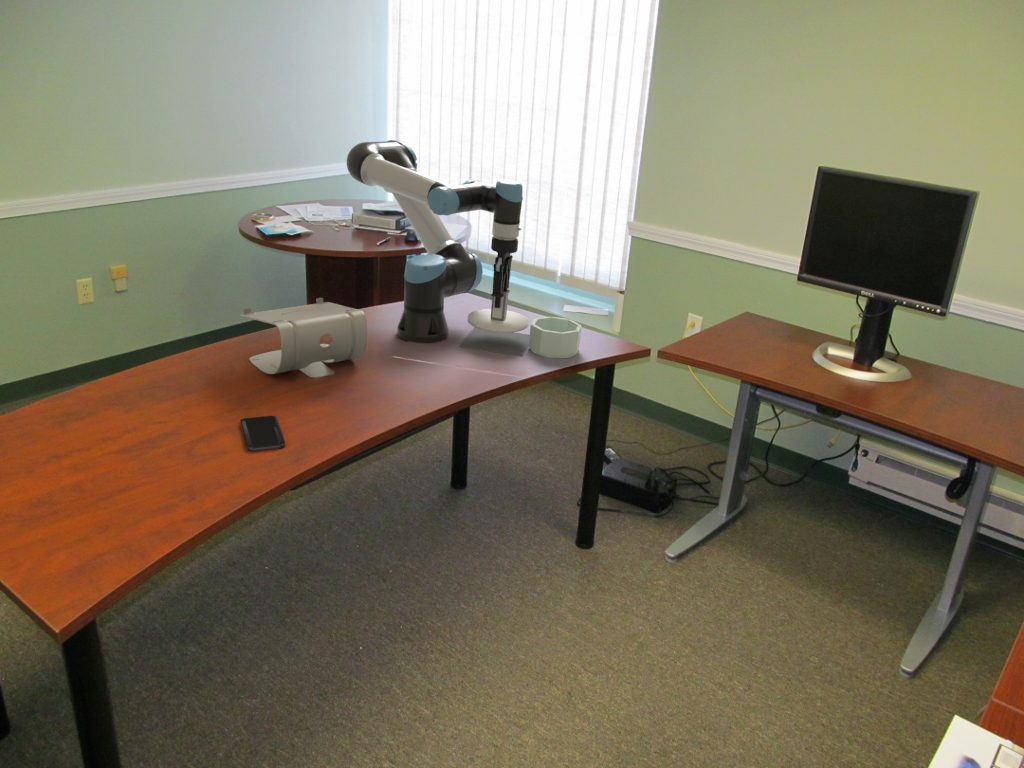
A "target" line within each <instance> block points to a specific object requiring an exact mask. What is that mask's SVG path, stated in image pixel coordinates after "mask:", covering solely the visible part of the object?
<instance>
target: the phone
mask: <svg viewBox="0 0 1024 768" xmlns="http://www.w3.org/2000/svg"><path fill="white" fill-rule="evenodd" d="M240 427H241V431H242V436H243V438H244V439H243V440H244V443H245V448H246V451H247V452H252V453H253V452H262V451H263V452H264V451H271V450H273V451H274V450H279V449H280V450H281V449H284V448H285V447H286V441H285V439H284V435H283V431H282V428H281V426H280V424H279V420H278V417H277V416H275V415H266V416H265V415H263V416H254V417H244V418H241V419H240Z"/></svg>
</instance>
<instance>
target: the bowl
mask: <svg viewBox="0 0 1024 768" xmlns="http://www.w3.org/2000/svg"><path fill="white" fill-rule="evenodd" d="M581 333H582V325H581V324H580V323H578V322H576V321H574V320H572V319H570V318H565V317H558V316H544V317H543V316H542V317H536V318H535V317H534V318H533V320H532V322H531V323H530V327H529V335H530V338H529V346H528V348H529V349H530V351H531V352H532V353H534V354H536V355H538V356H541V357H545V358H551V359H568V358H572V357H574V356H577V355H578V351H579V348H580V342H581V335H582V334H581Z"/></svg>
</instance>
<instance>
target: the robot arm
mask: <svg viewBox="0 0 1024 768" xmlns="http://www.w3.org/2000/svg"><path fill="white" fill-rule="evenodd" d="M417 159H418V158H417V155H416V152H415V151H414V150H413V148H412V147H411V146H410V145H409V144H408V143H406V142H405V141H400V140H395V139H394V140H393V139H391V140H386V141H366V142H365V141H363V142H359V143H358V144H356V145H354V146H353V147H352V148H351V149H350V151H349V152H348V154H347V157H346V167H347V171H348V174H350V176H351V177H352V178H353V179H354V180H355V181H356V182H359V183H361V184H364V185H365V186H369V187H374V186H378V187H381V188H383V190H384V191H385V192H387V193H390V194H392V195H393V197H394V199H395V200H396V202H397V204H398V205H399V207H400V209H401V210H402V212H403V214H404V216H405V218H406V219H407V221H408V222H409V224H410V225H411V228H412V229H413V231H414V232H415V235H417V237H418V238H419V240H420V241H419V242H421V244H422V245H423V247H424V249H425V251H426V252H427V254H423V253H422V254H418V255H415V256H412V257H410V258H409V259H408V260H407V261H406V263H405V267H404V273H403V277H404V278H403V279H404V280H403V281H404V282H403V283H404V285H403V288H404V289H403V293H404V295H403V296H404V297H403V311H402V313H401V316H400V319H399V322H398V324H397V331H396V333H397V334H396V335H397V337H398V338H400V339H401V340H403V341H405V342H410V343H417V344H434V343H439V342H442V341H445V340H447V339H448V337H449V327H448V323H447V319H446V316H445V312H444V311H445V310H444V309H445V308H444V307H445V306H444V305H445V298H446V299H447V298H450V297H454V296H458V295H461V294H462V295H463V294H466V293H469V292H471V291H473V290H476V289H477V288H478V287H479V286H480V284H481V281H482V279H483V275H482V274H483V272H484V271H483V270H484V269H483V265H482V262H481V260H480V258H479V257H478V256H477V254H475V253H472V252H470V251H466V249H465V248H464V247H463V245H462V243H461V242H458V241H454V239H453V237H452V236H451V235H450V234H451V233H449V231H448V229H447V228H446V226H445V224H444V223H443V222H442V220H441V218H440V216H450V215H455V214H461V213H467V212H468V213H469V212H475V211H483V212H488V213H492V214H493V217H492V218H493V220H492V231H491V234H492V237H491V243H490V245H491V247H490V249H491V250H492V251H493V252H496V253H497V255H496V257H495V260H494V264H493V265H492V266H493V275H492V277H493V279H492V280H493V281H492V293H491V294H490V295H491V297H492V296H494V302H493V314H492V317H494V318H500V319H501V318H502V310H503V299H504V297H503V292H508V294H509V293H510V289H509V288H510V278H511V270H512V269H511V268H512V260H513V257H514V256H513V255H512V254H514V253H517V252H518V250H519V249H518V247H519V239H518V237H519V235H520V231H522V227H521V226H520V223H521V213H522V204H523V199H524V198H523V193H524V192H523V184H522V183H521V182H520V181H517V180H511V179H499V180H497V182H496V184H491V183H486V182H482V181H480V180H473V179H468V180H466V181H464V182H463V183H462V184H453V185H452V184H450V183H447V182H443V181H441V180H439V179H435V178H433V177H431V176H428V175H425V174H422V173H420V172H418V170H417V168H418V162H417Z"/></svg>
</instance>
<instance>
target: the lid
mask: <svg viewBox="0 0 1024 768" xmlns="http://www.w3.org/2000/svg"><path fill="white" fill-rule="evenodd" d="M503 297H504V299H503V310H502V318H501V319H500V318H494V317H492V314H493V302H494V296H491V307H490V308H482V309H478V310H477V309H476V310H473V311H471V312H470V313H468V315H467V323H468V324H469V325H470V326H471V327H473V328H475V327H476V328H479V329H482V330H486V331H491V332H497V333H510V332H515V333H519V332H522V331H524V330H526V329H528V327H529V324H530V323H529V318H527V317H526V316H525V315H523V314H521V313H519V312H516V311H512V310H508V301H509V293H508V292H503Z"/></svg>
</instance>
